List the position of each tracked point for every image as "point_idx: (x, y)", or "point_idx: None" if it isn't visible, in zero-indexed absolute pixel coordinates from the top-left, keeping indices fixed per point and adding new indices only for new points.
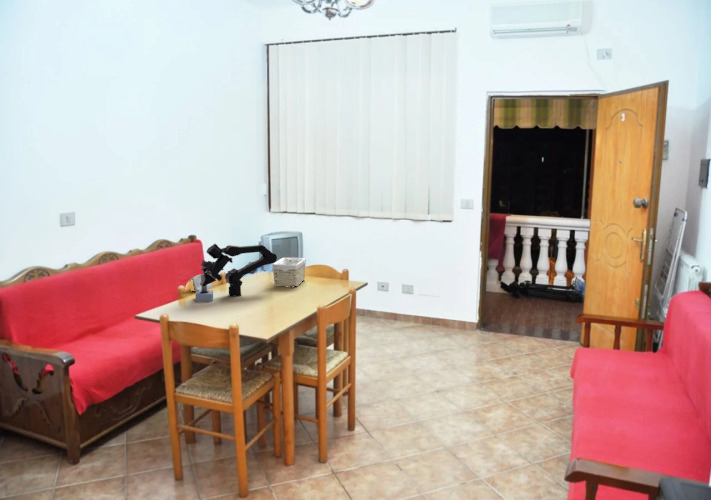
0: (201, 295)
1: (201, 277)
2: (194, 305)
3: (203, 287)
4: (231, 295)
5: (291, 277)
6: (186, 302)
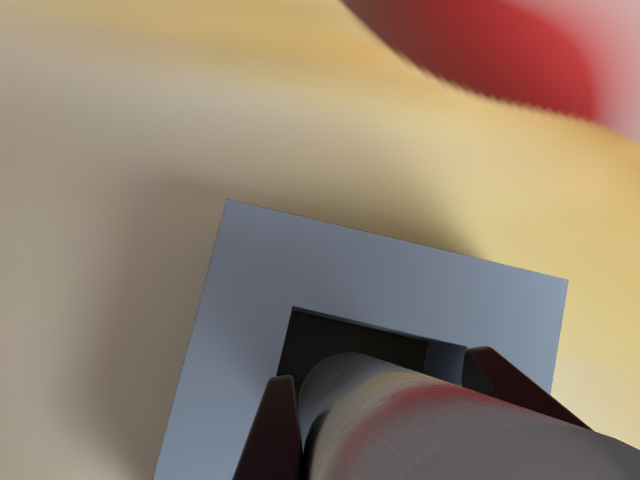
0: (200, 321)
1: (398, 425)
2: (12, 165)
3: (309, 414)
4: None
5: None
6: (272, 86)
